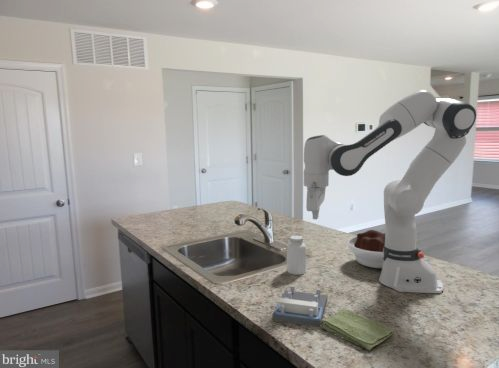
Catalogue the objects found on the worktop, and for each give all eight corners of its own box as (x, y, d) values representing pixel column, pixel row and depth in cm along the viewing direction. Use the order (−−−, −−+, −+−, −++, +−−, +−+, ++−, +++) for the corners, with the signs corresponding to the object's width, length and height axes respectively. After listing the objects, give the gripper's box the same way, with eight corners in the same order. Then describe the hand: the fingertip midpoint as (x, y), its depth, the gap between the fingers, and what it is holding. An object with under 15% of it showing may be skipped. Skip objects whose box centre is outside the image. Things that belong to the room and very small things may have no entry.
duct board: (327, 300, 129) (327, 288, 129) (320, 326, 112) (320, 312, 112) (285, 295, 134) (285, 283, 133) (272, 319, 117) (272, 306, 116)
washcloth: (371, 355, 99) (371, 343, 98) (318, 329, 112) (318, 319, 111) (395, 336, 107) (395, 326, 107) (343, 314, 120) (343, 305, 120)
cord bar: (318, 311, 118) (318, 302, 117) (316, 316, 115) (316, 306, 114) (281, 306, 121) (281, 297, 121) (278, 310, 119) (278, 301, 118)
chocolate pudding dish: (403, 256, 172) (404, 225, 169) (411, 277, 148) (412, 241, 146) (347, 253, 178) (348, 222, 176) (346, 272, 155) (347, 237, 152)
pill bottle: (291, 276, 151) (291, 240, 149) (284, 269, 159) (284, 235, 157) (309, 274, 153) (309, 238, 151) (301, 267, 161) (301, 233, 159)
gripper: (321, 185, 122) (320, 226, 124) (328, 177, 141) (327, 213, 143) (302, 184, 124) (301, 224, 126) (311, 177, 143) (311, 212, 145)
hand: (315, 218), depth 135 cm, fingers closed
